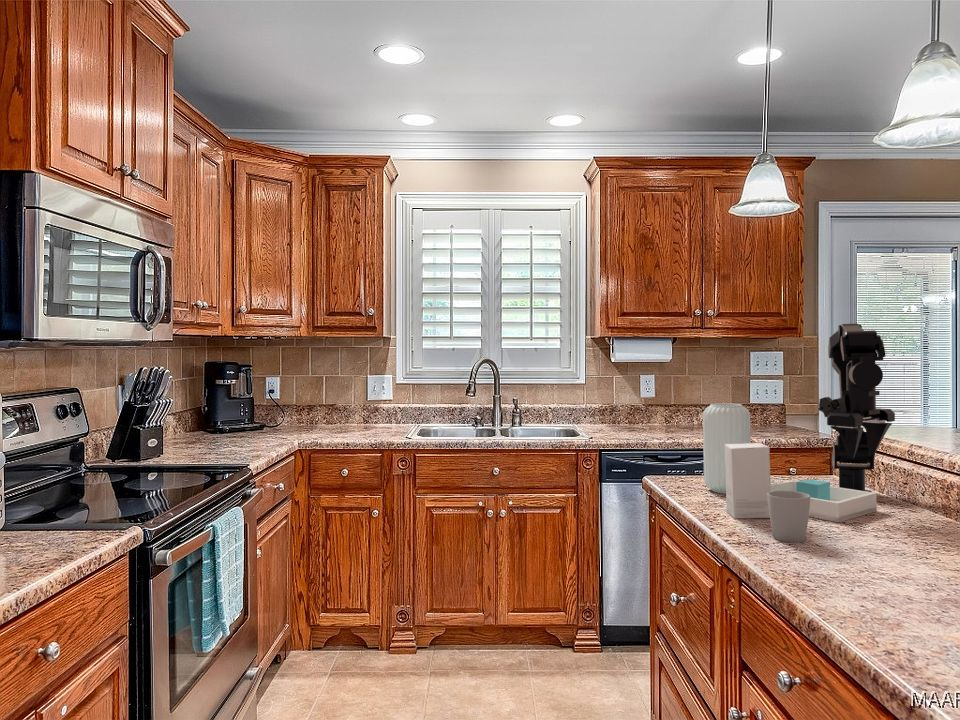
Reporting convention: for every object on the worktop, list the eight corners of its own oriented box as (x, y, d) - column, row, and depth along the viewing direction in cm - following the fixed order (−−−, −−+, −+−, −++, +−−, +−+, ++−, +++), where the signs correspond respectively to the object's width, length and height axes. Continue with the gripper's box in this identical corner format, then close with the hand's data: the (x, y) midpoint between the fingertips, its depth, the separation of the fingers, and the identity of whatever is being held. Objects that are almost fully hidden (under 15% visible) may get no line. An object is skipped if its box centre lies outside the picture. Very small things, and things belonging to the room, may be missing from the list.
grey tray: (791, 496, 168) (791, 480, 168) (876, 511, 151) (876, 493, 151) (752, 505, 159) (752, 488, 159) (838, 522, 142) (838, 503, 142)
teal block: (808, 500, 159) (808, 479, 159) (830, 504, 154) (829, 482, 154) (796, 503, 156) (796, 481, 156) (818, 507, 152) (817, 484, 152)
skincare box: (763, 512, 153) (762, 442, 152) (773, 519, 146) (772, 446, 146) (724, 512, 153) (723, 442, 153) (732, 519, 147) (731, 447, 147)
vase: (745, 486, 181) (744, 402, 181) (756, 495, 170) (755, 406, 169) (700, 486, 183) (699, 403, 182) (708, 495, 171) (707, 406, 171)
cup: (767, 542, 129) (767, 497, 129) (767, 529, 138) (766, 487, 138) (812, 545, 126) (811, 499, 126) (809, 532, 135) (808, 489, 135)
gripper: (846, 383, 165) (847, 447, 166) (803, 387, 155) (804, 455, 155) (895, 384, 156) (896, 453, 156) (853, 388, 146) (854, 461, 146)
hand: (861, 455), depth 154 cm, fingers open, 9 cm apart
